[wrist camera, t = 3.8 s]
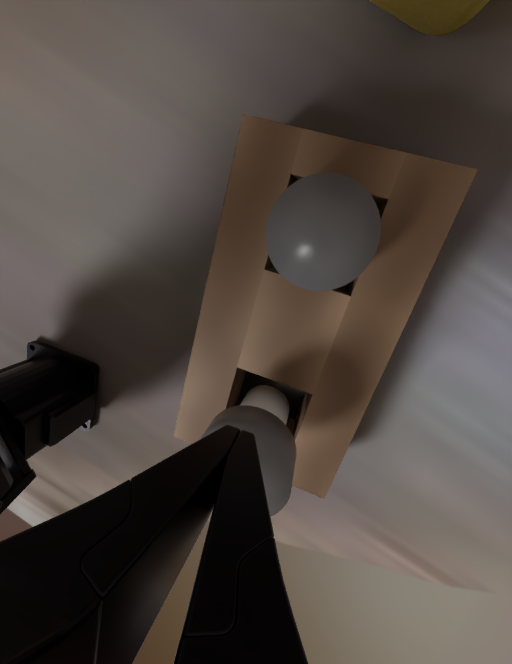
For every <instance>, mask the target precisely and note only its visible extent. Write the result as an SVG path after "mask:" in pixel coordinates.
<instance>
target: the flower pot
mask: <svg viewBox="0 0 512 664" xmlns="http://www.w3.org/2000/svg"><path fill="white" fill-rule="evenodd" d="M368 1H370V2H371V3H373V4H375V5H376V6H378V7H380V8H381V9H383V10H385V11H386V12H388V13H390V14H391V15H393V16H394V17H396V18H397V19H399V20H401V21H402V22H404V23H405V24H407V25H408V26H410V27H411V28H413V29H415V30H417V31H418V32H421V33H424V34H427V35H434V36H440V35H445V34H448V33H450V32H453V31H455V30H457V29H458V28H460V27H461V26H463V25H464V24H466V23H467V22H468V21H469V20H471V19H472V18H473V17H474V16H475V15H476V14H477V13H478V12H479V11H480V10H481V9H482V8H483V7H484V6H485V5H486V4H487V3H488V2H489V1H490V0H368Z"/></svg>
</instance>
